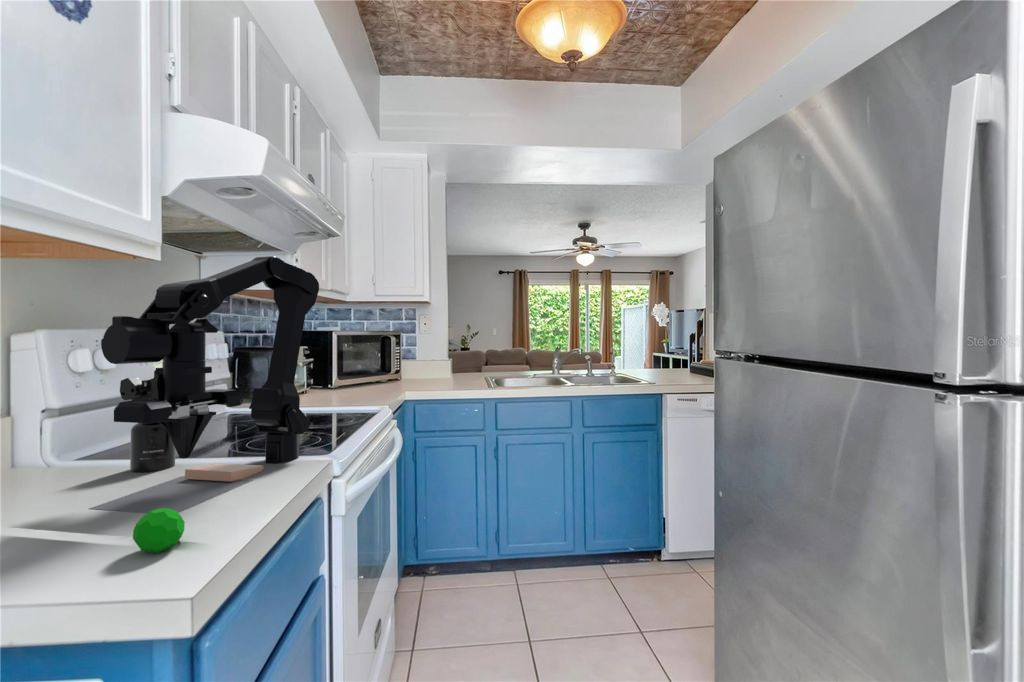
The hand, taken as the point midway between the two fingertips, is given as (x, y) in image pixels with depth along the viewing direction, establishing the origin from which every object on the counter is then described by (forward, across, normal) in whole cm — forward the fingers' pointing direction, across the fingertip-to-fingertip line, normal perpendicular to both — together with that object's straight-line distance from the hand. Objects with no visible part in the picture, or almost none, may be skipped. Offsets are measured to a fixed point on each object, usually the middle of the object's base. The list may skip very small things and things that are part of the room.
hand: (184, 457), depth 76 cm
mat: (+6, +1, 0) cm, 6 cm away
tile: (+4, -5, 0) cm, 6 cm away
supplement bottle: (+6, -11, -17) cm, 21 cm away
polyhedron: (+6, +17, +13) cm, 23 cm away
